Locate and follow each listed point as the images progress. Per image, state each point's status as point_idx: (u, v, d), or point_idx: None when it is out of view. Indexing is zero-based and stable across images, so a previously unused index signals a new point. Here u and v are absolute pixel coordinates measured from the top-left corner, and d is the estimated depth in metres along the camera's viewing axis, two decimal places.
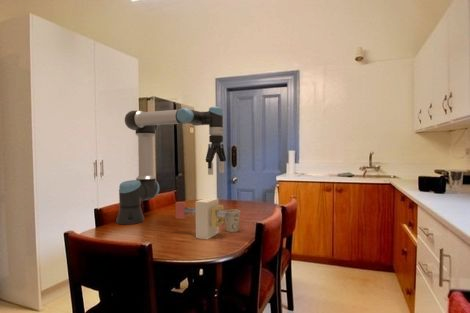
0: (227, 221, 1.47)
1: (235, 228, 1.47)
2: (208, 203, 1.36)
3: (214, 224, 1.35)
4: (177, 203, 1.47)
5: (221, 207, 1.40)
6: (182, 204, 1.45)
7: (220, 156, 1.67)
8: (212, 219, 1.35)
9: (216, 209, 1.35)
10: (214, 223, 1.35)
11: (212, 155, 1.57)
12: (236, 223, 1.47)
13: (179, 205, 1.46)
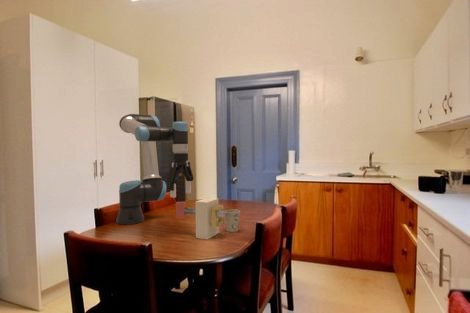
0: (227, 221, 1.47)
1: (235, 228, 1.47)
2: (208, 203, 1.36)
3: (214, 224, 1.35)
4: (177, 203, 1.47)
5: (221, 207, 1.40)
6: (182, 204, 1.45)
7: (186, 175, 1.51)
8: (212, 219, 1.35)
9: (216, 209, 1.35)
10: (214, 223, 1.35)
11: (175, 176, 1.41)
12: (236, 223, 1.47)
13: (179, 205, 1.46)
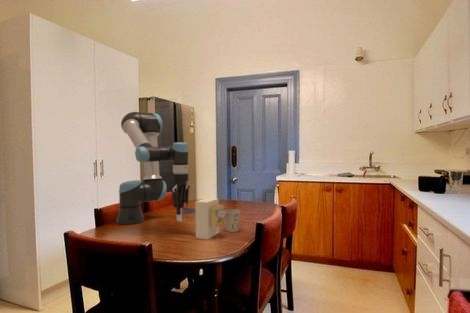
0: (227, 221, 1.47)
1: (235, 228, 1.47)
2: (208, 203, 1.36)
3: (214, 224, 1.35)
4: None
5: (221, 207, 1.40)
6: (182, 204, 1.45)
7: (182, 199, 1.48)
8: (212, 219, 1.35)
9: (216, 209, 1.35)
10: (214, 223, 1.35)
11: (179, 200, 1.44)
12: (236, 223, 1.47)
13: None
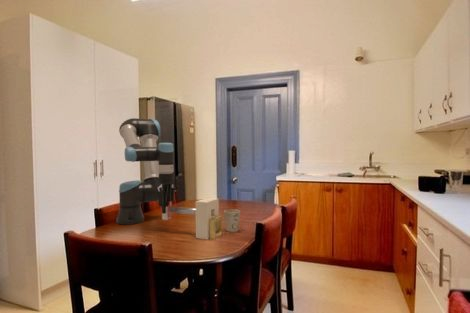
0: (227, 221, 1.47)
1: (235, 228, 1.47)
2: (208, 203, 1.36)
3: (212, 235, 1.35)
4: None
5: (219, 218, 1.41)
6: (167, 203, 1.49)
7: (168, 198, 1.52)
8: (210, 230, 1.35)
9: (214, 220, 1.36)
10: (212, 234, 1.35)
11: (164, 199, 1.48)
12: (236, 223, 1.47)
13: None
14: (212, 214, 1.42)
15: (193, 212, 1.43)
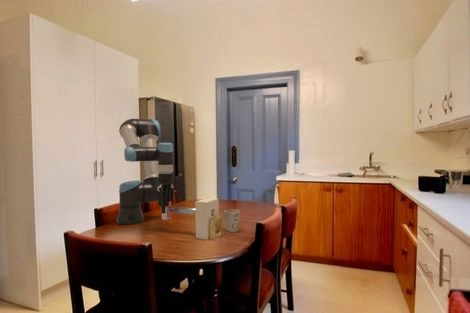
0: (227, 221, 1.47)
1: (235, 228, 1.47)
2: (208, 203, 1.36)
3: (212, 235, 1.35)
4: None
5: (219, 218, 1.41)
6: (167, 203, 1.49)
7: (167, 198, 1.52)
8: (210, 230, 1.35)
9: (214, 220, 1.36)
10: (212, 234, 1.35)
11: (164, 199, 1.48)
12: (236, 223, 1.47)
13: None
14: (212, 214, 1.42)
15: (193, 212, 1.43)
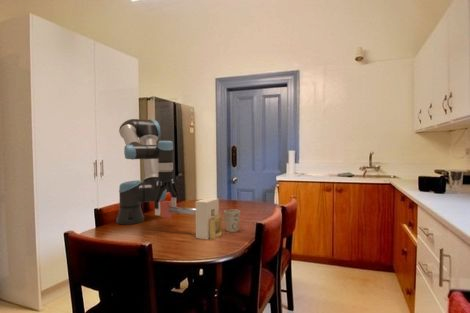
0: (227, 221, 1.47)
1: (235, 228, 1.47)
2: (208, 203, 1.36)
3: (212, 235, 1.35)
4: (162, 202, 1.50)
5: (219, 218, 1.41)
6: (167, 203, 1.49)
7: (171, 192, 1.55)
8: (210, 230, 1.35)
9: (214, 220, 1.36)
10: (212, 234, 1.35)
11: (159, 194, 1.45)
12: (236, 223, 1.47)
13: (164, 204, 1.50)
14: (212, 214, 1.42)
15: (193, 212, 1.43)
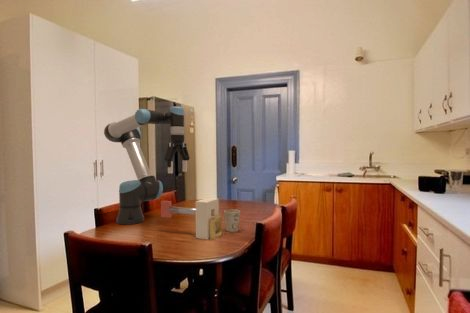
0: (227, 221, 1.47)
1: (235, 228, 1.47)
2: (208, 203, 1.36)
3: (212, 235, 1.35)
4: (162, 202, 1.50)
5: (219, 218, 1.41)
6: (167, 203, 1.49)
7: (183, 155, 1.69)
8: (210, 230, 1.35)
9: (214, 220, 1.36)
10: (212, 234, 1.35)
11: (172, 154, 1.59)
12: (236, 223, 1.47)
13: (164, 204, 1.50)
14: (212, 214, 1.42)
15: (193, 212, 1.43)
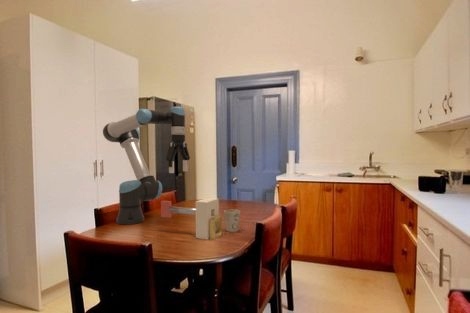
0: (227, 221, 1.47)
1: (235, 228, 1.47)
2: (208, 203, 1.36)
3: (212, 235, 1.35)
4: (162, 202, 1.50)
5: (219, 218, 1.41)
6: (167, 203, 1.49)
7: (183, 155, 1.71)
8: (210, 230, 1.35)
9: (214, 220, 1.36)
10: (212, 234, 1.35)
11: (173, 154, 1.60)
12: (236, 223, 1.47)
13: (164, 204, 1.50)
14: (212, 214, 1.42)
15: (193, 212, 1.43)
